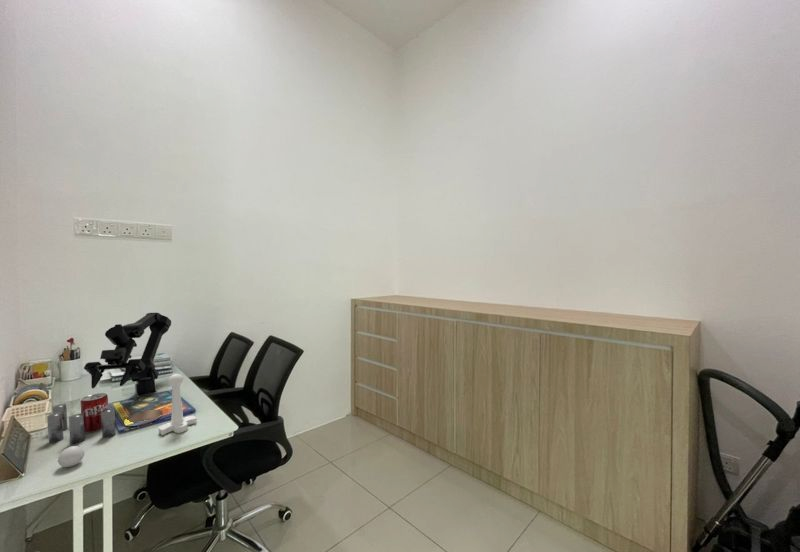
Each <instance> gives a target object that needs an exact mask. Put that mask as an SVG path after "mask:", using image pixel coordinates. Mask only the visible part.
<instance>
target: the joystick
mask: <svg viewBox="0 0 800 552" xmlns="http://www.w3.org/2000/svg"><path fill="white" fill-rule="evenodd" d="M183 381H184V378H183V375H181V374H180V373H173V374H172V375H170V376H169V377H168V381H167V384H169V386H171V415H170V416H171V420H170V422H167V423H164V424H162V425H160V426H158V435H161V436H164V435H166V434H168V433H170V432H174V433H176V434H182V433H184V432H186V431H187V430H188V429H189V425H193V424H197V423H198V422H197V417H196V416H195V415H188V416H185V417H184V413H183V402H182V396H181V395H182V394H181V384H182V383H183Z"/></svg>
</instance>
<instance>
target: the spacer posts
mask: <svg viewBox="0 0 800 552" xmlns="http://www.w3.org/2000/svg"><path fill="white" fill-rule="evenodd" d="M51 410H52V413H51V414H49V415H47V416H46V419H47V420H46V421H47V438H48V443H49V444H54V443H58V442H61V441H63V440H64V431H66V430H69V442H70V443H69V444H70V445H72V446H76V445H78V444H81V443H84V441H86V438H85V437H86V436H85V435H86V433H84V415H83V414H82V413H81V412H80V413H76V414H73V415H70V416H69V417H68V412H67V411H68V410H67V403H60V404H57V405H53V406H52V409H51ZM115 411H116V410H115V408H111V407H109V408H108V409H106V410H103V411H101V423H102V430H101V437H102V439H109V438H113V437H114V436H115V435H116V434H117V432H116V415H115ZM68 426H69V427H68ZM68 428H69V429H68Z"/></svg>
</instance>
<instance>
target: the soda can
mask: <svg viewBox="0 0 800 552" xmlns="http://www.w3.org/2000/svg"><path fill="white" fill-rule="evenodd" d="M106 409H109V396H108V394H107V393H105V392H98V393H93V394H90V395H87V396H84V397H82V398H81V399H80V414H81V413H82V414H83V415H84V433H85V434H93V433H97V432H100V431H102V423H101V411H103V410H106Z"/></svg>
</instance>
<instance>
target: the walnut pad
mask: <svg viewBox="0 0 800 552" xmlns="http://www.w3.org/2000/svg"><path fill="white" fill-rule="evenodd" d="M162 414H163V415H164V411H163V410H160V409H148V410H144V411H140V412H136V413H133V414H131V415H129V416H127V417H126V418H125V419H127V420H129V421H130V422H138V421H144V420H150V419H155V418H157V417H158V416H160V415H162Z"/></svg>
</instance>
